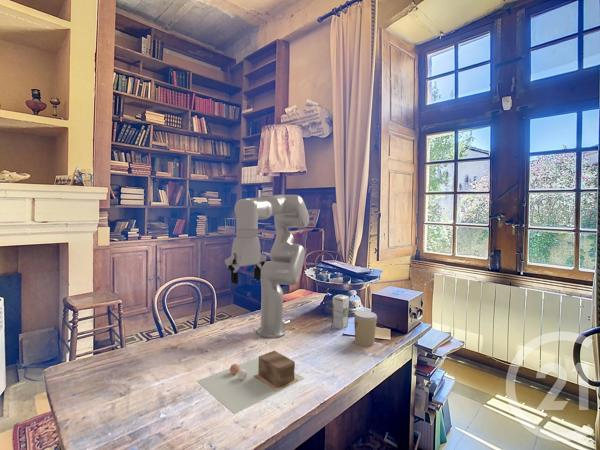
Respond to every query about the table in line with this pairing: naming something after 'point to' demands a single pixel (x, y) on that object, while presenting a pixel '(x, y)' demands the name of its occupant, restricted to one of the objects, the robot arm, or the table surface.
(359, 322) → the coffee cup
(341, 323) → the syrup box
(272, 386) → the cork pad
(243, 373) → the cream ball
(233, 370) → the terracotta ball
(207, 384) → the sage board
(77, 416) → the table surface
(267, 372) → the walnut cover
